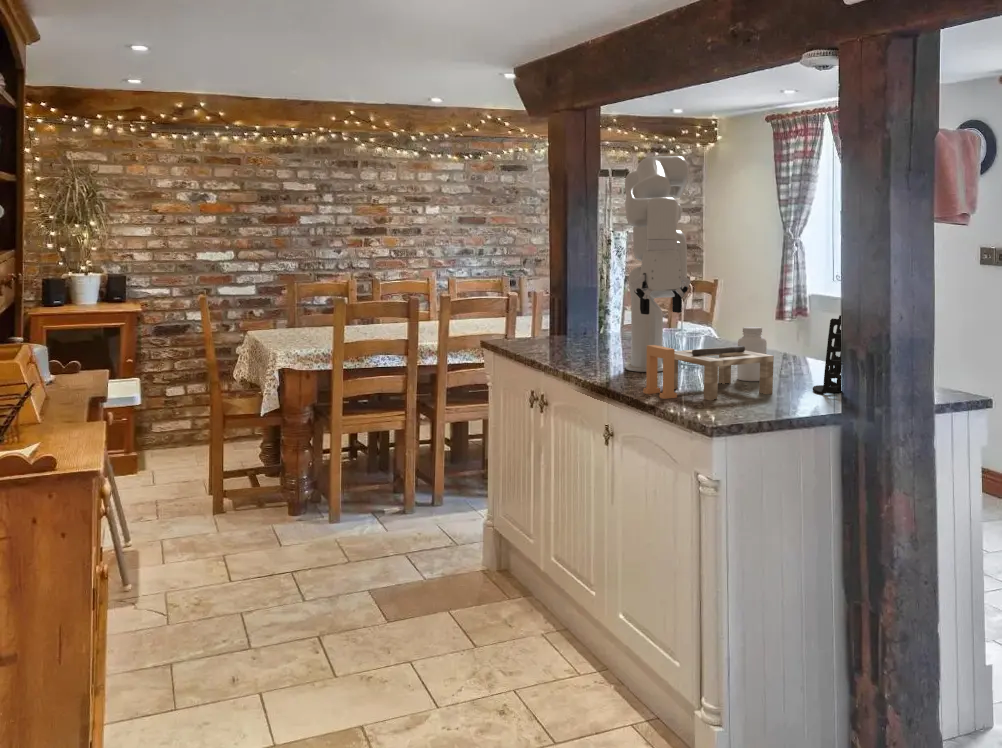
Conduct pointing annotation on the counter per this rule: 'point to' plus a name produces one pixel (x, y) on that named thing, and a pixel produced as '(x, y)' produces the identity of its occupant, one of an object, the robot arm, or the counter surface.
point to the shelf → (725, 367)
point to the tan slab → (652, 369)
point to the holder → (832, 361)
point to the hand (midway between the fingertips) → (660, 313)
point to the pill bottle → (754, 344)
